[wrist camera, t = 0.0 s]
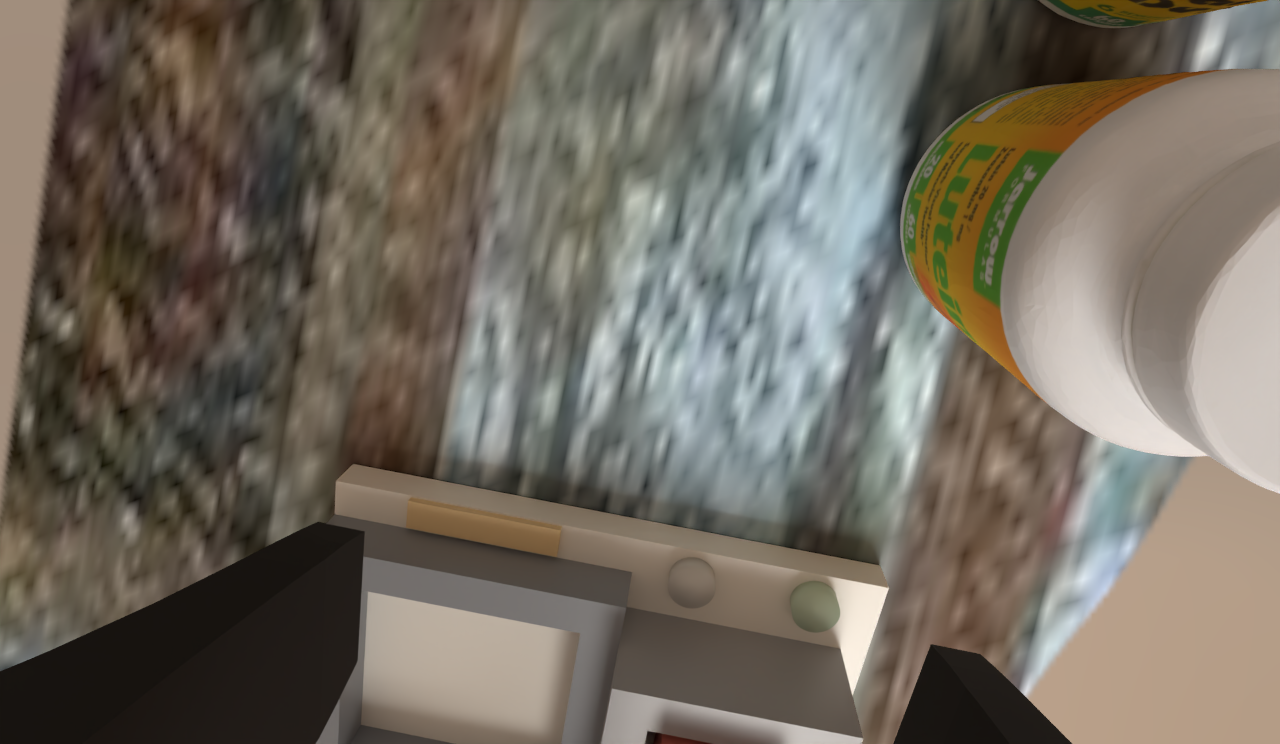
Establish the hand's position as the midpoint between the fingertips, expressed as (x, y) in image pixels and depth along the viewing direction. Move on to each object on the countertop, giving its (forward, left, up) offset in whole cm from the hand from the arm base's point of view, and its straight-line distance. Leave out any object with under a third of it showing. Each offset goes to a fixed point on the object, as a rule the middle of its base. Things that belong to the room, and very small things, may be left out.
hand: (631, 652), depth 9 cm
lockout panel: (-9, +1, -10) cm, 13 cm away
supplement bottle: (+6, -7, -10) cm, 14 cm away
